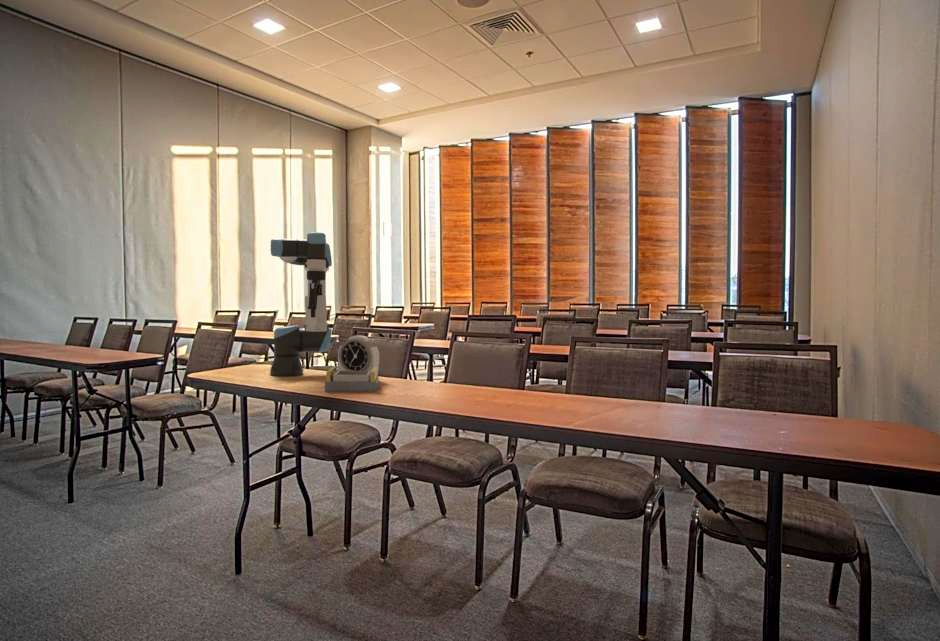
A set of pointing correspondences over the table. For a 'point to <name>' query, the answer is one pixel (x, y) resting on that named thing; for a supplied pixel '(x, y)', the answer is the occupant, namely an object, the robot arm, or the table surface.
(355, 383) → the grey display stand
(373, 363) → the alarm clock
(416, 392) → the table surface
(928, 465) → the table surface
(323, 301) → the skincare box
